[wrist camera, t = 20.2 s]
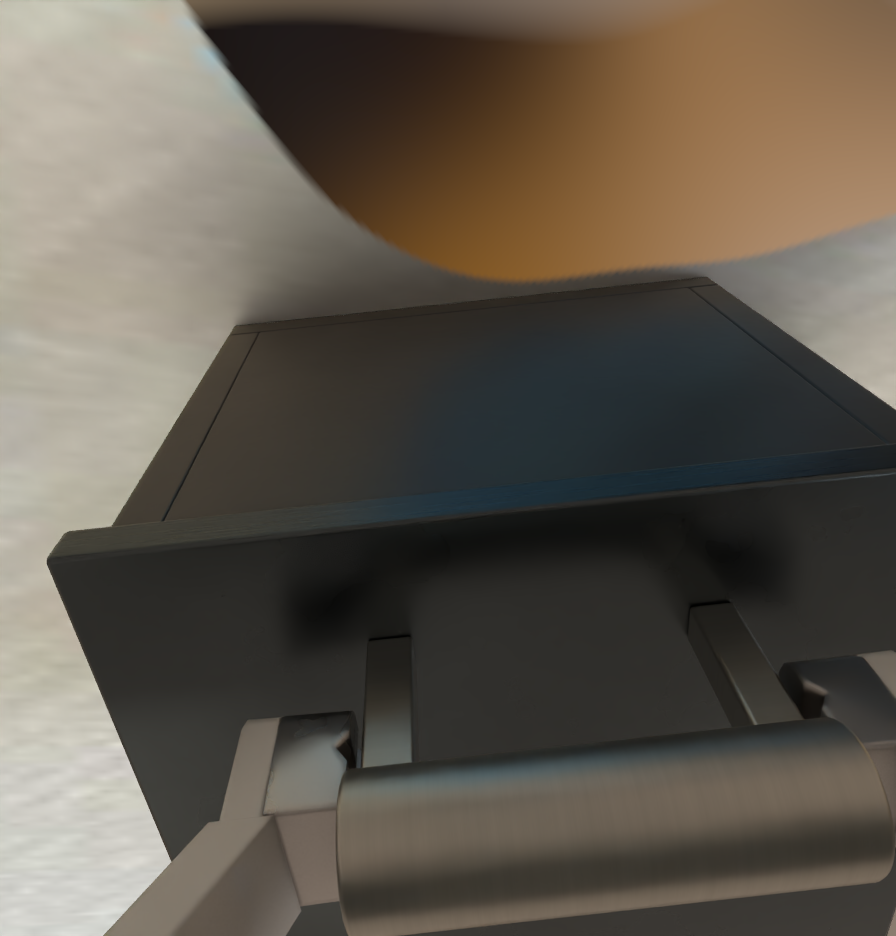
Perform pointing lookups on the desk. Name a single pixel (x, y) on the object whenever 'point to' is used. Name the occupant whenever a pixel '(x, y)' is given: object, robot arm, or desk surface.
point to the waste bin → (497, 400)
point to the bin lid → (530, 692)
